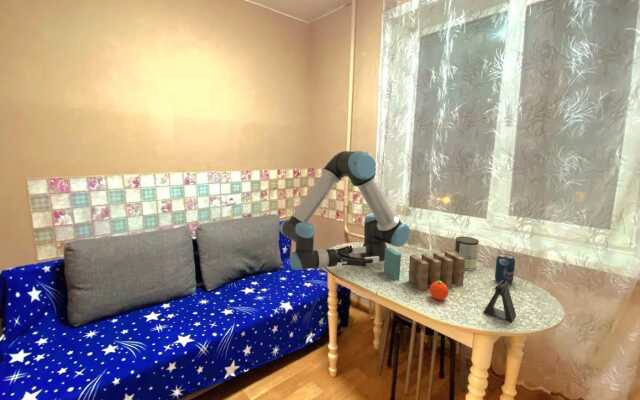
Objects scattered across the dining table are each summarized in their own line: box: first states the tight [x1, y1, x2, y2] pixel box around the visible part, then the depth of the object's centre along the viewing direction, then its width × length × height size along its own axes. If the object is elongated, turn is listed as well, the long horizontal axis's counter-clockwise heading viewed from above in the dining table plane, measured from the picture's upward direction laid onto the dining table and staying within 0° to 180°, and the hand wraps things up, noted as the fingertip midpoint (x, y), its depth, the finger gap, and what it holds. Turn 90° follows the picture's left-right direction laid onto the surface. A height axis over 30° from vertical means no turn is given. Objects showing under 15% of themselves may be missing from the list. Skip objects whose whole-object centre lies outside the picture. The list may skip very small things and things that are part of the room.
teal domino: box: [383, 247, 402, 282], centre depth 139 cm, size 10×2×12 cm, turn 16°
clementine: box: [429, 281, 449, 301], centre depth 118 cm, size 8×7×7 cm
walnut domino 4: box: [443, 250, 465, 287], centre depth 134 cm, size 10×2×12 cm, turn 16°
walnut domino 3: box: [432, 252, 453, 288], centre depth 132 cm, size 10×2×12 cm, turn 16°
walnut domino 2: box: [421, 253, 441, 287], centre depth 131 cm, size 10×2×12 cm, turn 16°
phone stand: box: [483, 280, 517, 323], centre depth 106 cm, size 9×6×12 cm, turn 46°
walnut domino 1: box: [408, 254, 429, 292], centre depth 129 cm, size 10×2×12 cm, turn 16°
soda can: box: [494, 253, 516, 285], centre depth 133 cm, size 7×7×12 cm
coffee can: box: [454, 236, 480, 271], centre depth 149 cm, size 10×10×14 cm
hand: (371, 254), depth 135 cm, fingers open, 13 cm apart
